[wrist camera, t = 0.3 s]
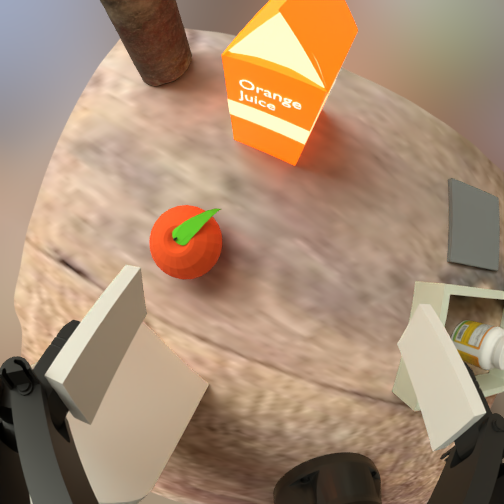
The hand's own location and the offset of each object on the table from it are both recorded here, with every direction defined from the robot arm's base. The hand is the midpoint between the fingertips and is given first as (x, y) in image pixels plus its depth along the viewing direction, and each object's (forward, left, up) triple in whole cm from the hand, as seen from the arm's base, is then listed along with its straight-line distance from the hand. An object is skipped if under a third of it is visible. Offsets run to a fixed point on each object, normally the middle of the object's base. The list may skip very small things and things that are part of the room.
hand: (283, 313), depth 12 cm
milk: (-13, +13, -17) cm, 25 cm away
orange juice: (+19, +1, -17) cm, 25 cm away
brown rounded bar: (+27, +17, -17) cm, 36 cm away
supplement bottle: (-4, -28, -17) cm, 33 cm away
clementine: (+4, +8, -17) cm, 19 cm away
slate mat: (+11, -28, -17) cm, 35 cm away
